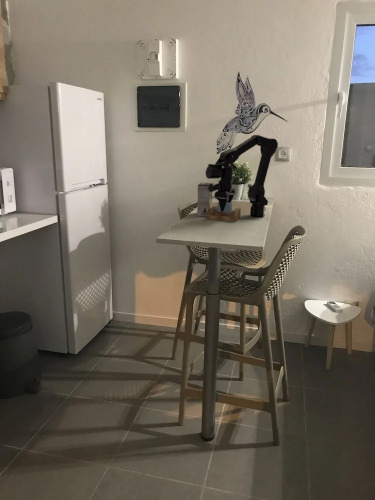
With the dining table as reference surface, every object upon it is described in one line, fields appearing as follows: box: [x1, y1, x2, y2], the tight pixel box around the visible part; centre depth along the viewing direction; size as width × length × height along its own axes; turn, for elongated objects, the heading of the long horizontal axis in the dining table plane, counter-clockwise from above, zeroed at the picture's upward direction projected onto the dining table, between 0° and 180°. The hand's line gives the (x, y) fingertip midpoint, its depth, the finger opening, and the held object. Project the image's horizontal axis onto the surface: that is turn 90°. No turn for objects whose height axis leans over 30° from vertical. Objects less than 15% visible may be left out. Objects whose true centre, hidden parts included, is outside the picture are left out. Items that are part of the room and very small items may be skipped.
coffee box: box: [196, 182, 213, 218], centre depth 205 cm, size 9×6×16 cm
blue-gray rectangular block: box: [216, 201, 233, 213], centre depth 197 cm, size 7×2×6 cm, turn 69°
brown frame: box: [207, 205, 242, 223], centre depth 198 cm, size 14×10×5 cm
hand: (224, 209), depth 197 cm, fingers open, 9 cm apart
